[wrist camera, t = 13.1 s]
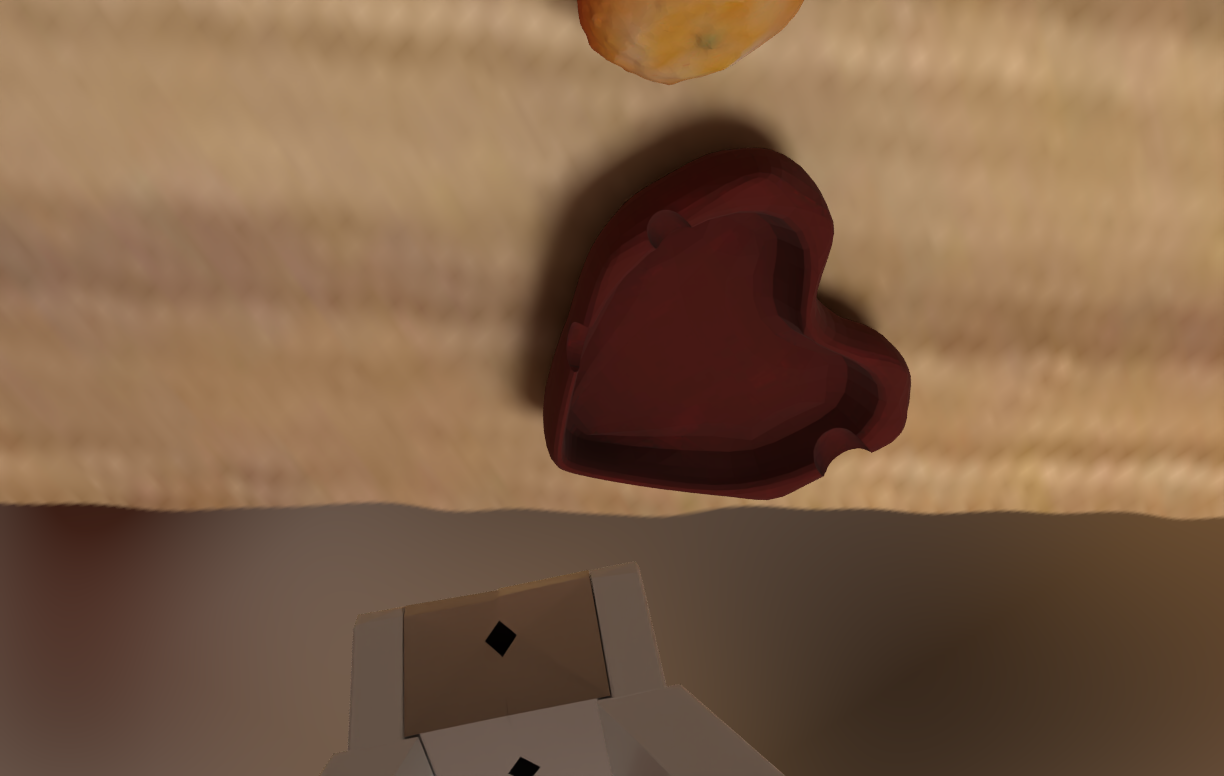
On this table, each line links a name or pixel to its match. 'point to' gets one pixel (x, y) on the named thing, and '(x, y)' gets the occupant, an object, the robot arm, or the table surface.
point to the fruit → (681, 33)
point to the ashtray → (717, 341)
